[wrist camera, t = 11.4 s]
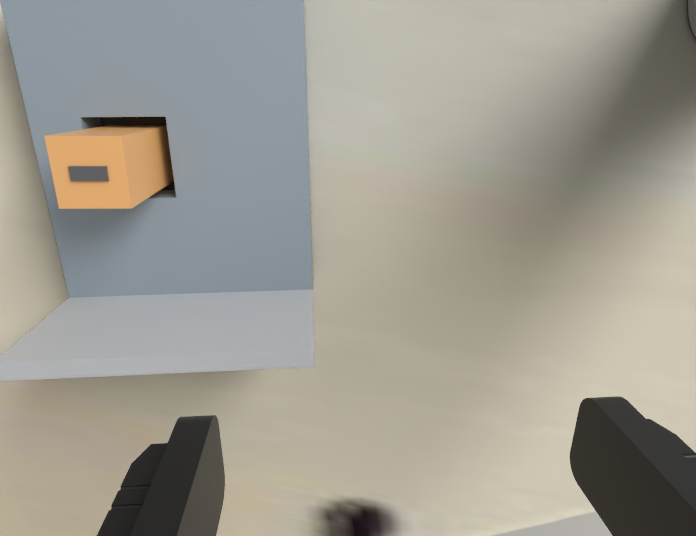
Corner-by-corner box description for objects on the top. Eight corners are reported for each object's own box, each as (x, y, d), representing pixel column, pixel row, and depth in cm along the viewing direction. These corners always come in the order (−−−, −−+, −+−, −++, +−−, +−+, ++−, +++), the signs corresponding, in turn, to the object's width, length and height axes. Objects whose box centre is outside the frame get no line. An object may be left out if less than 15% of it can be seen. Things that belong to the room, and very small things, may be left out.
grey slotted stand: (303, 0, 32) (300, -50, 21) (312, 288, 39) (314, 367, 28) (25, -3, 31) (-139, -58, 19) (90, 295, 38) (-2, 381, 27)
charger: (167, 125, 34) (120, 136, 25) (174, 180, 35) (130, 209, 27) (110, 124, 34) (42, 136, 25) (119, 180, 35) (57, 209, 26)
